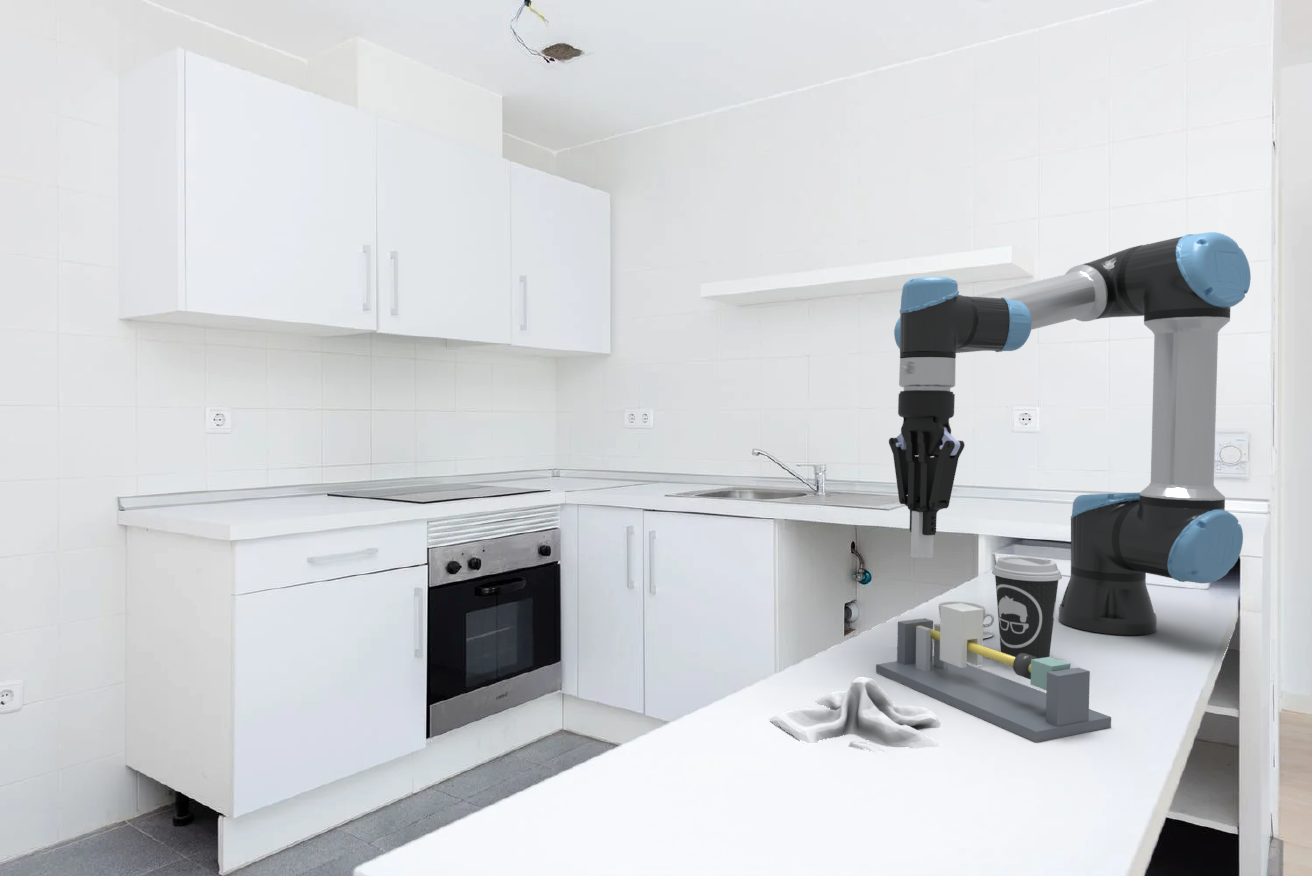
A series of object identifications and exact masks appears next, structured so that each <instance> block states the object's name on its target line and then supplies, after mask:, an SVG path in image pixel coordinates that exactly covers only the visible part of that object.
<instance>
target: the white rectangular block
mask: <svg viewBox="0 0 1312 876" xmlns="http://www.w3.org/2000/svg"><path fill="white" fill-rule="evenodd" d="M939 618H940V619H939V620H940V623H939V624H940V660H942V661H944V662H947V663H950V664H952V665H955V666H958V667H960V668H964V667H967V664H968V663H969V664H970V665H971V664H972V665H973V666H974V665H975V666H978V667H979V666H982V665H983V656H981V655H978V654H976V653H973V652H970V651H967V641H969V642H972V643H975V644H978V645H981V646H984V638H983V624H984V621H983V609H981V608H977V607H974V606H970V605H967V604H963V603H957V604H947V605H941V617H940V616H939Z"/></svg>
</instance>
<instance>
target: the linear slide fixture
mask: <svg viewBox="0 0 1312 876" xmlns="http://www.w3.org/2000/svg"><path fill="white" fill-rule="evenodd" d="M933 626H934V630H933ZM896 639H897V640H896V641H897V645H896V646H897V647H896V648H897V649H896V653H897V654H896V661H891V662H882V663H877V664H876V665H875V667H876V668H875V669H876V670H875V673H876V674H879V675H881V676H883V677H885V678H888V679H889V680H892V681H894V682H897V683H899V684H902V685H904V686H906V687H908V688H910V689H913V690H915V691H918V692H919V693H922V694H924V695H926V696H928V697H932V698H933V699H936V700H938V701H940V702H942V703H945V704H947V705H950V706H951V707H954V708H956V709H958V710H961V711H963V712H965V713H968V714H970V715H973V716H975V717H977V718H979V719H982V720H984V721H986V722H988V723H991V724H993V725H995V726H998V727H1000V728H1002V729H1005V730H1006V731H1009V732H1010V733H1014V734H1016V735H1018V736H1020V737H1022V738H1024V739H1027V740H1029V741H1032V742H1034V743H1038V742H1039V743H1040V742H1044V741H1049V740H1054V739H1058V738H1059V739H1060V738H1064V737H1065V738H1066V737H1069V736H1074V735H1080V734H1084V733H1089V732H1094V731H1098V730H1099V731H1100V730H1103V729H1108V728H1112V716H1109V715H1107V714H1104V713H1102V712H1098V711H1096V710H1093V709H1090V682H1091V681H1090V679H1091V675H1090V670H1088V669H1084V668H1081V667H1071V663H1069V662H1067V661H1063V660H1061V659H1058V658H1054V657H1051V656H1049V657H1045V658H1039V659H1038V658H1037V657H1035V656H1031V655H1028V654H1025V653H1020V654H1018V655H1017V656H1016V657H1014V656H1011V655H1008V654H1005V653H1002V652H1001V651H998V650H995V649H992V648H989V647H987V646H984V645H983V646H981V645H978V644H975V643H972V642H969V641H967V651H970V652H973V653H976V654H978V655H981V656H982V657H983V658H984V657H985V658H987V659H991V660H993V661H996V662H999V663H1001V664H1005V665H1007V666H1010V667H1012V668H1013V672H1014V673H1015V675H1017V676H1019V677H1022V678H1025V679H1027V680H1030V685H1031V686H1034V687H1036V688H1039V689H1042V690H1044V691H1041V690H1038V689H1036V688H1033V687H1030V686H1028V685H1025V684H1022V683H1020V682H1017V681H1014V680H1011V679H1009V678H1006V677H1003V676H1001V675H998V674H995V673H992V672H989V671H987V670H984V669H981V668H980V667H979V668H978V667H976V666H974V665H971V664H968V663H967V667H964V668H960V667H958V666H955V665H952V664H950V663H947V662H944V661H942V660H940V623H936V624H935V623H934V620H932V619H929V618H917V619H916V618H915V619H907V620H898V621H897V638H896ZM1045 691H1046V692H1045Z"/></svg>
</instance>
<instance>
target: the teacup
mask: <svg viewBox="0 0 1312 876" xmlns="http://www.w3.org/2000/svg"><path fill="white" fill-rule="evenodd" d="M957 603H963V604H967V605H970V606H974V607H977V608H981V609H983V622H984V621H985V619H986V618H987V617H990V619H991V621H990V622H989V623H987V624H984V623H983V639H988V638H991V637H993V636H994V632H993V631H992V630H990V629H987V628H989V627H991V626H993V624H994V622H995V617H994V615H993V614H992V613H990V612H986V607H985V606H984V605H982V604H979V603H974V602H968V601H967V602H966V601H943V602H940V603H939V604H938V612H939V613H938V614H939V618H940V617H941V605H947V604H957ZM933 630H934V625H933Z"/></svg>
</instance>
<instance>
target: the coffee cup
mask: <svg viewBox="0 0 1312 876" xmlns="http://www.w3.org/2000/svg"><path fill="white" fill-rule="evenodd" d="M991 574H992V575H994V578H995V579H994V580H995V590H996V603H997V604H996V605H997V616H998V620H997V621H998V631H999V633H998V634H999V648H1000V652H1002V653H1005V654H1008V655H1011V656H1014V657H1016V656H1017V655H1018V654H1020V653H1025V654H1028V655H1031V656H1035V657H1037V658H1038V659H1039V658H1045V657H1051V655H1050V653H1051V645H1052V639H1053V638H1052V636H1053V629H1054V627H1053V626H1054V621H1055V611H1056V603H1057V597H1058V596H1057V593H1058V587H1059V580H1062V579H1063V576H1062V572H1061V571H1060V569H1059V568H1058V565H1057V562H1056V561H1054V560H1051V559H1046V558H1040V557H1033V556H1032V557H1031V556H1017V555H1016V556H1002V557H999V558H998V559H997V562H996V564H995V565H994V566H993V567H992V571H991Z"/></svg>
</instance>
